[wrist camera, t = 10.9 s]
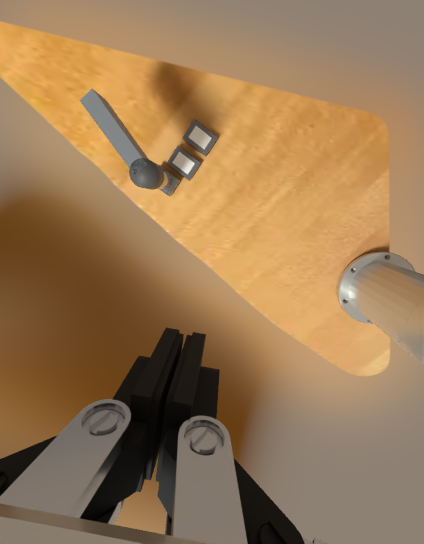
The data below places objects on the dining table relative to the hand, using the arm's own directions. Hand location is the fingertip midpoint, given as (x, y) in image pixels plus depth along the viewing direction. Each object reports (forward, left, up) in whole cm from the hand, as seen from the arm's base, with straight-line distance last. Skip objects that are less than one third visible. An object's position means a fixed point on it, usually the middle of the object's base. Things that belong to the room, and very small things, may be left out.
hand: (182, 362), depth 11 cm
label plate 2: (+12, -7, -35) cm, 38 cm away
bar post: (+13, -3, -35) cm, 37 cm away
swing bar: (+17, -4, -27) cm, 33 cm away
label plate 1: (+12, -11, -35) cm, 39 cm away
